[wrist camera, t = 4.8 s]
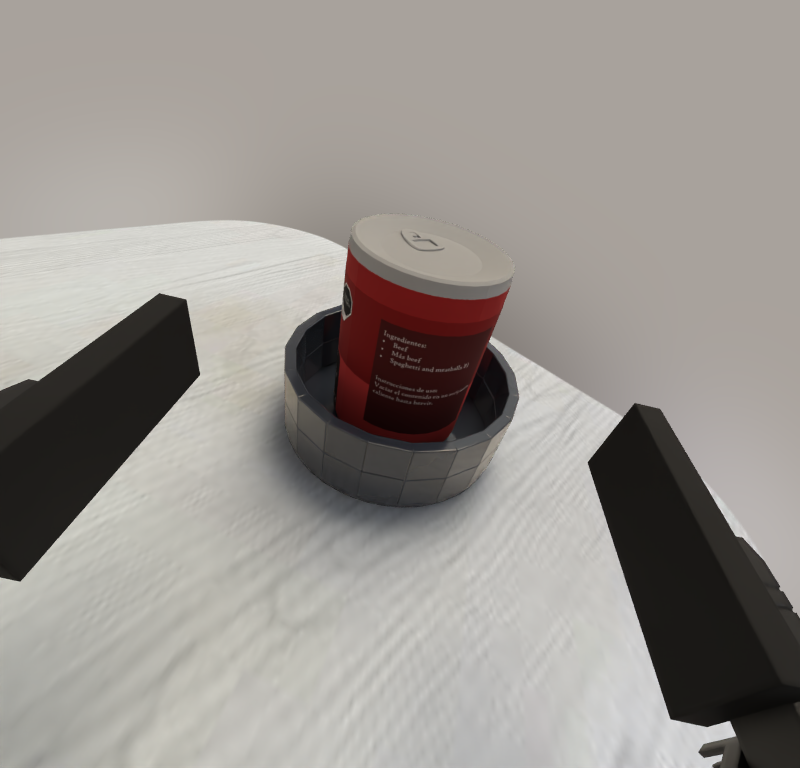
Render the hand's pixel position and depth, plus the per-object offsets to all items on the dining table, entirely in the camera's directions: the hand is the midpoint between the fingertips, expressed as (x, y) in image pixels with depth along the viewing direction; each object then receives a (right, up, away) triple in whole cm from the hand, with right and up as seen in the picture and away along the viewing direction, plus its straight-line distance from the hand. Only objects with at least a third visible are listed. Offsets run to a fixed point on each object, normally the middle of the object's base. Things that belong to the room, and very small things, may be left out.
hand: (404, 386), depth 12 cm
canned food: (-1, -2, +13) cm, 13 cm away
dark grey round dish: (-1, -2, +13) cm, 13 cm away
